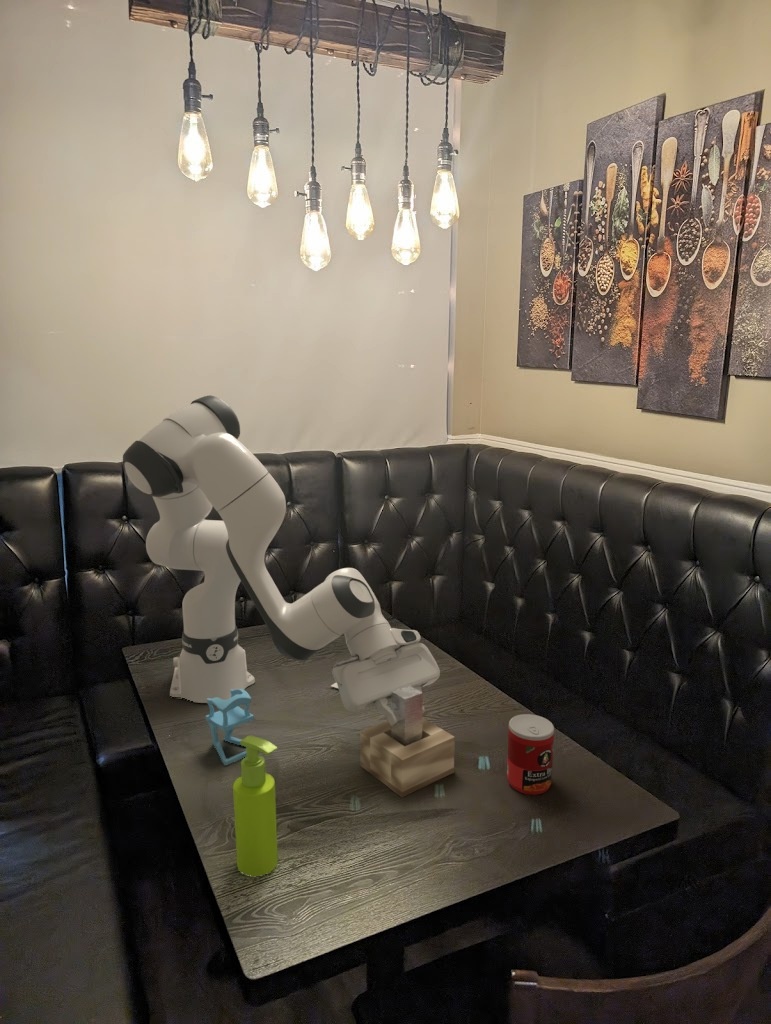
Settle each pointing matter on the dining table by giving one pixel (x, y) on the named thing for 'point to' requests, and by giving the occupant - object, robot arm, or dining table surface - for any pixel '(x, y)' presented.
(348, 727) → the dining table surface
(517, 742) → the canned food
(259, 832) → the soap dispenser
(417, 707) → the grey square peg
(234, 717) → the chair
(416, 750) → the frame
